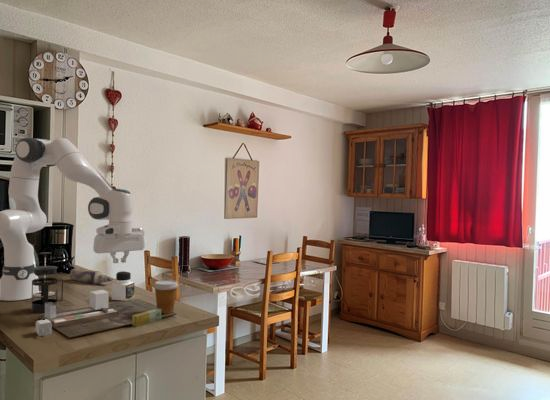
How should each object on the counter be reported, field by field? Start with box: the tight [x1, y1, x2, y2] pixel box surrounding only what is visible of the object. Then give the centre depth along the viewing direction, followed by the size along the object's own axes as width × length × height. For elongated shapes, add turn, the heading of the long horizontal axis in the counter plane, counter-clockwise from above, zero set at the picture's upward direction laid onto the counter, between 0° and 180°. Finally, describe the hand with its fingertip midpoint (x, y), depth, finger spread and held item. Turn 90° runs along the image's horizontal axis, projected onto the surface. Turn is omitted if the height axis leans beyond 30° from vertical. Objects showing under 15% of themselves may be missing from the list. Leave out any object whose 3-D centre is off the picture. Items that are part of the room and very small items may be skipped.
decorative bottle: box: [69, 267, 113, 285], centre depth 215 cm, size 26×8×7 cm, turn 66°
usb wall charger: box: [35, 319, 53, 337], centre depth 137 cm, size 4×7×4 cm, turn 41°
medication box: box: [131, 307, 163, 327], centre depth 153 cm, size 12×3×4 cm, turn 146°
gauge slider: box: [88, 289, 110, 312], centre depth 161 cm, size 10×5×6 cm, turn 45°
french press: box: [30, 251, 64, 314], centre depth 165 cm, size 12×9×23 cm
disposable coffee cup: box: [153, 279, 179, 315], centre depth 167 cm, size 10×10×12 cm
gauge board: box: [42, 306, 120, 329], centre depth 157 cm, size 13×23×2 cm, turn 135°
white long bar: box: [44, 302, 107, 320], centre depth 157 cm, size 6×21×5 cm, turn 135°
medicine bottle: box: [110, 270, 135, 302], centre depth 185 cm, size 7×7×12 cm
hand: (119, 262), depth 168 cm, fingers closed
